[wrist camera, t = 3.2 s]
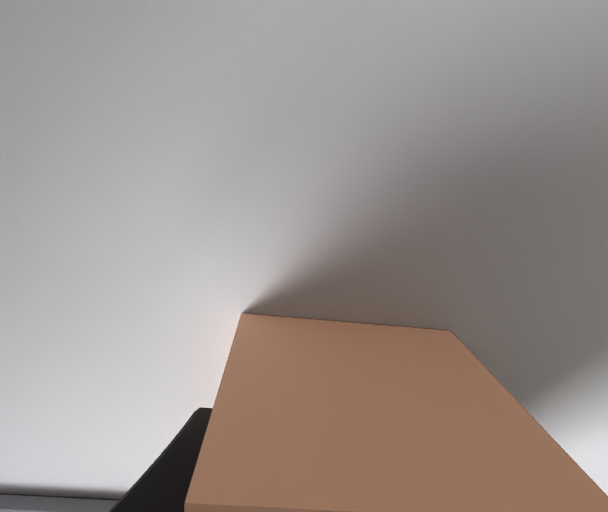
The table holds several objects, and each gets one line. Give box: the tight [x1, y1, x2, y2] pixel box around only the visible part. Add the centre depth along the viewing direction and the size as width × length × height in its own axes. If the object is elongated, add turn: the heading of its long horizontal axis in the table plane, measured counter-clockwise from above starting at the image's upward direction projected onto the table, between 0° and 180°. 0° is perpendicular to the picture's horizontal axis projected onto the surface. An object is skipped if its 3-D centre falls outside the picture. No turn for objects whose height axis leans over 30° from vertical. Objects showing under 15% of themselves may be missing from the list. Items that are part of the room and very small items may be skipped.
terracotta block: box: [184, 313, 608, 512], centre depth 7 cm, size 5×5×5 cm
